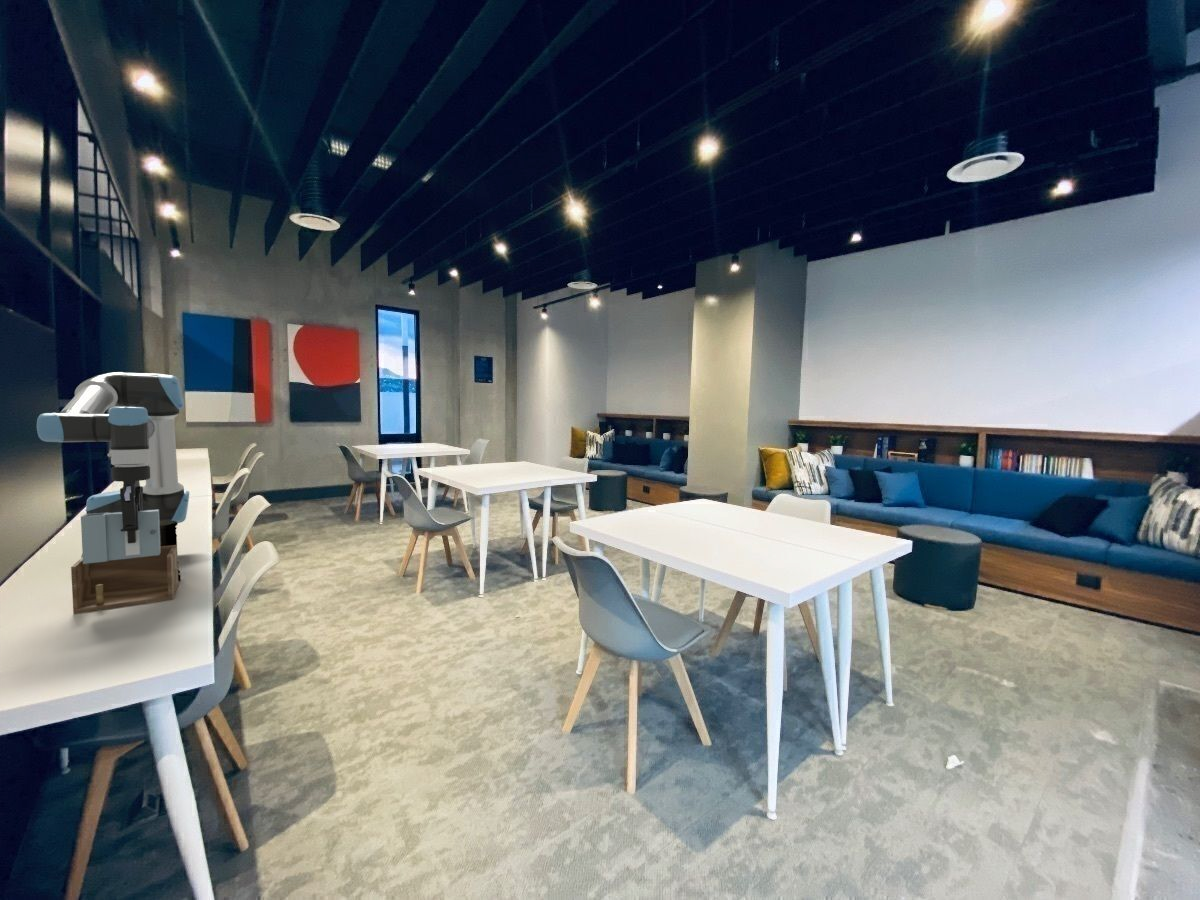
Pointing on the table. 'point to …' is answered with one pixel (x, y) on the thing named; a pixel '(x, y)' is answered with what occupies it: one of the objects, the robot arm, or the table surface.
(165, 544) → the container
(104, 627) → the table surface
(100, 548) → the door
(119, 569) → the cabinet
